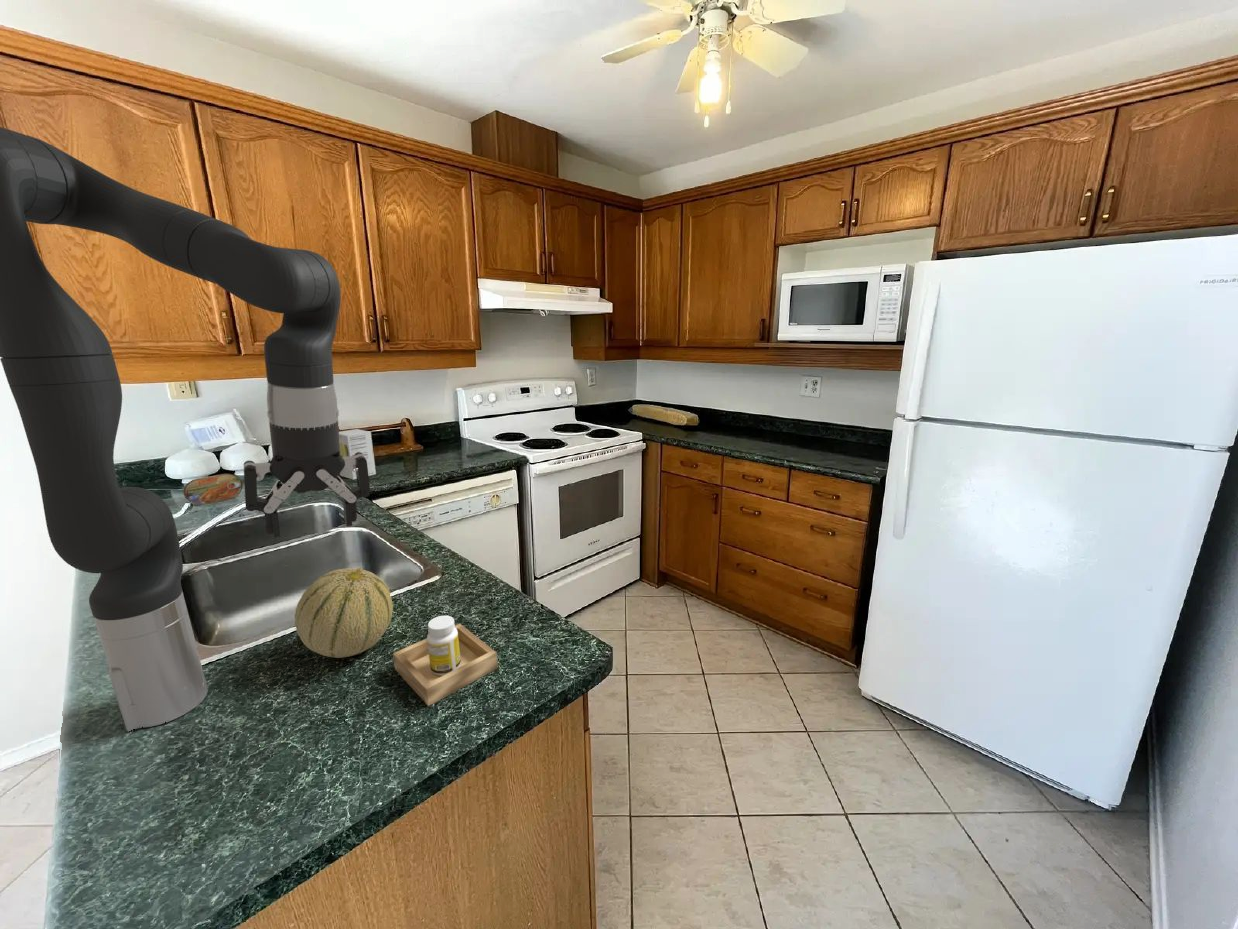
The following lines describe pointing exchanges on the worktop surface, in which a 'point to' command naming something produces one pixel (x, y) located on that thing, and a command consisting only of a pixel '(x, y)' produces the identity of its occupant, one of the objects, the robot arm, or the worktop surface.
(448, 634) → the supplement bottle
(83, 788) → the worktop surface
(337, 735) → the worktop surface
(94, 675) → the worktop surface
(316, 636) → the cantaloupe
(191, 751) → the worktop surface
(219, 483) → the tin
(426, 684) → the box
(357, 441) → the supplement box
